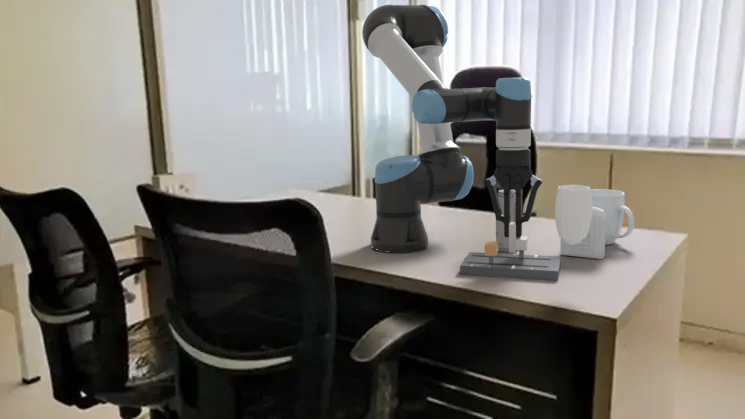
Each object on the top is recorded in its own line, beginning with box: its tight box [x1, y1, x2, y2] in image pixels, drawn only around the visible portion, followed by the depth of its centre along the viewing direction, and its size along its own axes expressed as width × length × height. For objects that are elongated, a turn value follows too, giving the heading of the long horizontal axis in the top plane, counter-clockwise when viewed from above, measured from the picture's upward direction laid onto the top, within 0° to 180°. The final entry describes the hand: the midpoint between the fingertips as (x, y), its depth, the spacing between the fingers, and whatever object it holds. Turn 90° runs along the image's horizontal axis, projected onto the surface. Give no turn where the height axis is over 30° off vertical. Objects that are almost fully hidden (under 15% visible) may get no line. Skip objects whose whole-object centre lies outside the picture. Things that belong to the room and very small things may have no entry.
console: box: [459, 251, 562, 281], centre depth 147 cm, size 21×12×2 cm, turn 71°
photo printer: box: [559, 206, 606, 260], centre depth 155 cm, size 10×4×12 cm, turn 61°
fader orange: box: [484, 240, 499, 263], centre depth 145 cm, size 2×4×4 cm, turn 162°
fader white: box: [516, 235, 529, 257], centre depth 149 cm, size 2×4×4 cm, turn 161°
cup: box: [554, 184, 592, 245], centre depth 132 cm, size 7×7×21 cm
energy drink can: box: [495, 188, 516, 253], centre depth 164 cm, size 6×6×15 cm
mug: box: [590, 188, 635, 246], centre depth 166 cm, size 15×11×13 cm
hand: (513, 251), depth 149 cm, fingers closed
